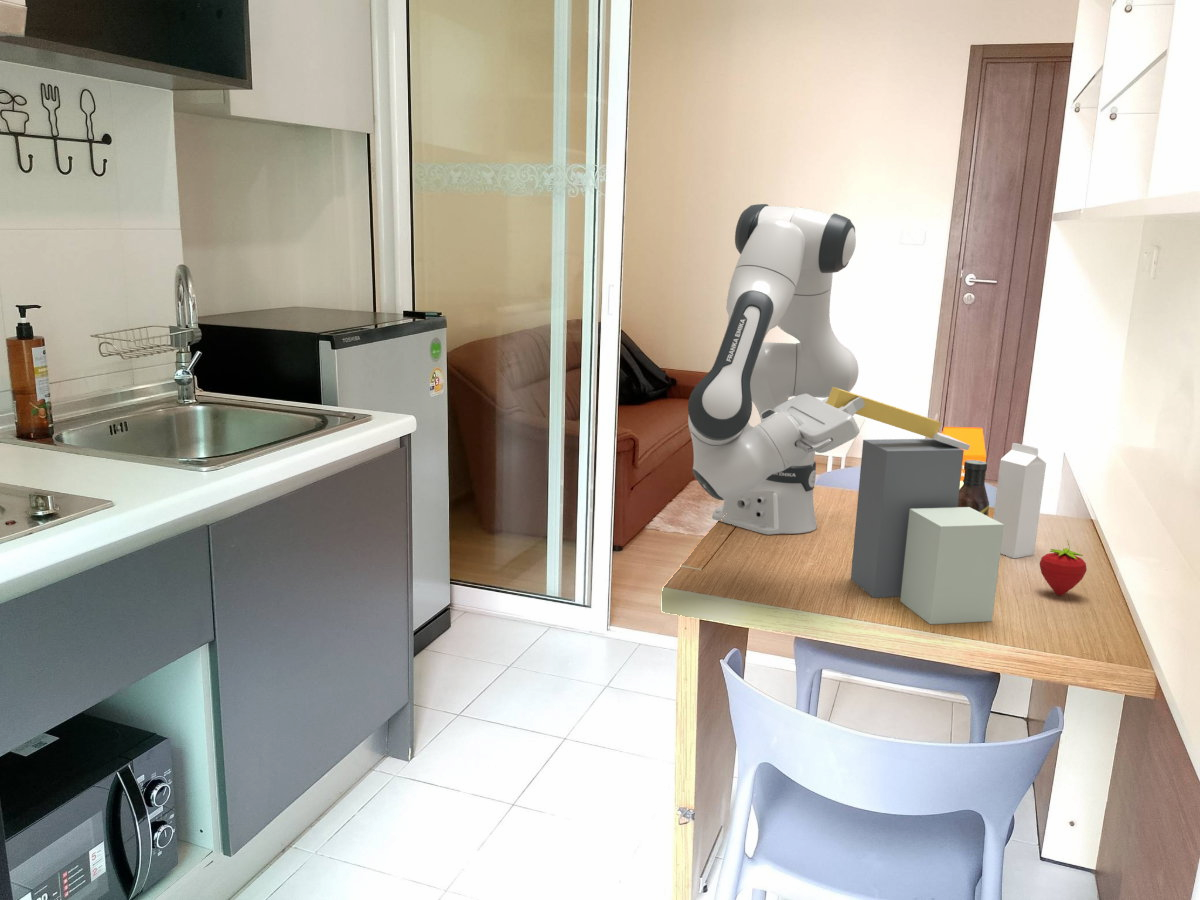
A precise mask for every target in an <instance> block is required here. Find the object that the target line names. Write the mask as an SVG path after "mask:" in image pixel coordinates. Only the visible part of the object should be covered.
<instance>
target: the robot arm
mask: <svg viewBox="0 0 1200 900" xmlns="http://www.w3.org/2000/svg"><path fill="white" fill-rule="evenodd" d="M734 233H735V234H734V244H735V245H734V246H735V248H736V250H737V252H738V253H739V254H740V255H739V258H738V260H737V263H736V266H735V267H734V271H733V274H732V277H731V280H730V283H729V288H728V292H727V299H726V308H725V309H726V312H727V314H728V321H727V322H728V323H727V328H726V330H725V332H724V337H723V339H722V341H721V344H720V347H719V350H718V353H717V356H716V358H715V360H714V363H713V366H712V367H711V368H710V370H709V372H708V373H707V374H705V376H704V377H703V378H702V379H701V380H700V381H699V382H698V383H697V384H696V385H695V386H694V388H693V389H692V390H691V393H690V395H689V398H688V403H687V409H688V410H687V411H688V417H687V418H688V419H687V422H688V429H689V433H690V437H691V442H692V449H693V465H692V466H693V467H692V473H693V476H694V478H695V479H696V481H697V482H698V484H699V485H700V486H701V487H702V489H703V490H704V491H705V492H706V493H707V494H709V496H711V497H712V499H713V498H714V499H715V500H718V501H723V505H721V506H720V507H716V509H714V511H713V512H712V516H711V518H712V520H713V521H714V520H715V521H719V522H721V523H725V524H728V525H731V524H732V526H735V527H738V528H741V529H742V528H743V529H746V530H749V531H753V532H756V533H759V534H763V535H779V534H788V535H789V534H802V533H803V534H804V533H809V532H813V531H815V530H816V529H817V528H818V524H817V520H816V513H815V505H814V489H815V484H816V480H817V479H816V478H817V462H816V461H815V458H816V456H815V455H816V453H818V454H824V453H827V452H829V451H831V450H833V449H836V448H838V447H840V446H842V445H844V444H846V443H848V442H850V441H852V440H853V439H855V438H857V436H858V435H859V434H860V428H859V426H858V424H857V422H856V419H855V418H854V416H855V415H856V414H855V413H856V412H857V411H858V410H859V409H861V408H863V407H864V406H865V403H864V401H863V399H862V398H860V397H858V396H856V397H854V398H852V399H850V400H849V403H848V404H847V405H846V406H844V407H843V406H842V407H840V408H836V407H833V406H831V405H829V404H827V400H828V398H829V395H830V392H831V390H832V387H835V388H838V389H841V390H844V391H848V392H851V391H852V390H853V388H854V387H855V385H856V383H857V381H858V377H859V364H858V361H857V358H856V357H855V355H854V354H853V352H852V351H851V350H850V349H849V348H847V347H846V346H845V345H844V344H842V343H841V342H840V340H839V339H838V338H837V337H836V335H835V333H834V331H833V328H832V324H831V318H830V314H831V313H830V310H831V309H830V308H831V307H830V305H831V296H832V295H831V294H832V293H831V292H832V284H833V276H834V275H833V273H838V272H840V271H842V270H843V269H845V268H846V267H847V266H848V264H849V262H850V261H851V259H852V257H853V256H854V255H853V254H855V249H856V244H857V243H856V242H857V238H856V227H855V225H854V224H853V222H852V220H851V219H850V218H849V217H846V216H844V215H841V214H838V213H833V214H832V213H828V212H824V211H821V210H817V209H811V208H808V207H804V206H803V207H802V206H799V207H794V206H785V205H784V206H783V205H781V206H779V205H768V204H767V203H761V204H760V203H759V204H758V203H757V204H752V205H749V206H748V207H747V208H746V209H744V210H743V211H742V213H741V214H740V216H739V218H738V220H737V224H736V227H735V232H734ZM776 327H778V328H779V329H780V330H782V331H783V332H785V333H786V334H787V335H789V336H792V337H793V338H795V339H796V340H797V341H798V342H796V343H791V342H790V343H789V342H769V341H768V342H766V341H764V340H765V338H766V337H767V335H768V333H769V332H770V331H771V330H772V329H774V328H776ZM791 397H792V398H791ZM819 398H821V399H822V400H821V399H819ZM823 398H824V399H823ZM753 405H754V406H755V407H756V411H758V414H759V418H760V423H758V424H756V425H755V426H751V425H750V423H749V421H750V418H751V415H752V412H753ZM726 513H727V514H726ZM724 515H725V516H724ZM723 516H724V517H723ZM721 519H722V521H720V520H721Z"/></svg>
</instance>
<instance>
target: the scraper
mask: <svg viewBox="0 0 1200 900" xmlns="http://www.w3.org/2000/svg"><path fill="white" fill-rule="evenodd" d="M856 396H858V397H860V398H862V399H863V401H864V403H865V406H864V407H863V408H861V409H859V410H858V411H857V412H856V413H855V414H854V415H858V416H860V417H863V418H864V417H865V418H867V419H870V420H873V421H877V422H880V423H882V424H886V425H889V426H891V427H895V428H899V429H902V430H905V431H908V432H911V433H915V434H917V435H920V436H923V437H926V438H928V439H935V440H937V441H939V442H942V443H945V444H949V445H952V446H955V447H958V448H961V449H964V450H967V451H968V450H969V448H970V445H969V444H966V443H964V442H962V441H959V440H957V439H955V438H952V437H950V436H948V435H944V434H942V432H939V431H940V428H941V425H942V422H941V421H938V420H936V419H934V418H930V417H927V416H924V415H921V414H917V413H915V412H912V411H909V410H906V409H902V408H900V407H896V406H894V405H890V404H887V403H884V402H882V401H881V402H880V401H878V400H874V399H872V398H869V397H866V396H863V395H860V394H856V393H853V392H851V391H850V392H848V391H844V390H841V389H838V388H835V387H832V390H831V392H830V395H829V397H827V398H828V400H827V404H829V405H831V406H833V407H836V408H840V407H842V406H843V407H844V406H846V405H847V404H848V403H849V400H850V399H852V398H854V397H856Z"/></svg>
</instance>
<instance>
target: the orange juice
mask: <svg viewBox="0 0 1200 900" xmlns="http://www.w3.org/2000/svg"><path fill="white" fill-rule="evenodd" d="M941 434H944V435H948V436H950V437H952V438H955V439H957V440H959V441H962V442H964V443H966V444H969V445H970V448H969V450H968V451H967V450H964V449H963V450H964V454H963V463H962V472H961V480H960V488H961V487H962V486H963V484H964V483H963V480H964V473H965V470H964V463H965V461H966V460H979V461H984V462H986V463H987V454H986V453H987V452H986V446H985V444H986V443H985V437H984V429H983V427H970V426H969V427H967V426H965V427H963V426H962V427H961V426H944V427H943V430H942V432H941ZM960 449H961V448H960Z"/></svg>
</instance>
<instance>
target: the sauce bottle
mask: <svg viewBox="0 0 1200 900" xmlns="http://www.w3.org/2000/svg"><path fill="white" fill-rule="evenodd" d="M964 470H965V473H964V480H963V483H964V484H963V486H962V487H961V488H960V489H959V498H958V507H970V508H972V509H974V510H976V511H978V512H980V513H982V514H984V515H986V516H988V517H989V509H990V501H989V498H988V494H987V490H986V486H985V485H986V484H985V479H986V471H987V470H988V463H987V461H986V462H984V461H979V460H966V461H965V463H964Z"/></svg>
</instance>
